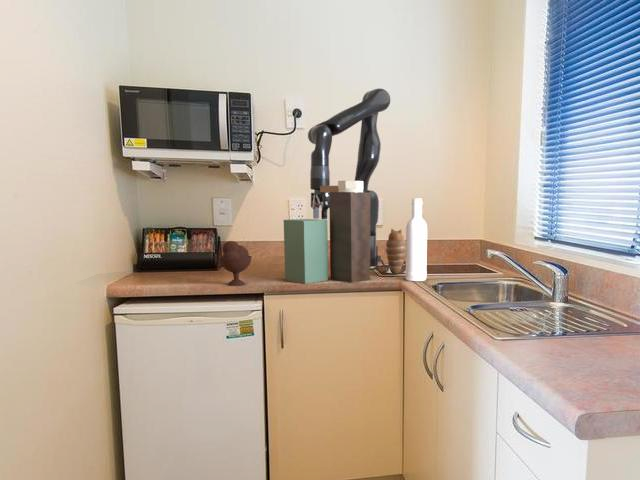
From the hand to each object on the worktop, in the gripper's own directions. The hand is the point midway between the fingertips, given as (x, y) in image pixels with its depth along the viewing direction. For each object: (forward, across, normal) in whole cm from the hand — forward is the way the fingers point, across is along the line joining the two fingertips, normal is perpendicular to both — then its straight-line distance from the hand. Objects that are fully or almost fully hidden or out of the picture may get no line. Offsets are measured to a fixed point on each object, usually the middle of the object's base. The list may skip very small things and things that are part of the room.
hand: (320, 218), depth 205 cm
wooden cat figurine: (+22, -18, -25) cm, 37 cm away
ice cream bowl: (+22, -14, +37) cm, 45 cm away
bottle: (+22, -34, -24) cm, 47 cm away
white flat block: (-10, -18, -1) cm, 21 cm away
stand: (+22, -23, -3) cm, 31 cm away
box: (+22, -17, +12) cm, 30 cm away
